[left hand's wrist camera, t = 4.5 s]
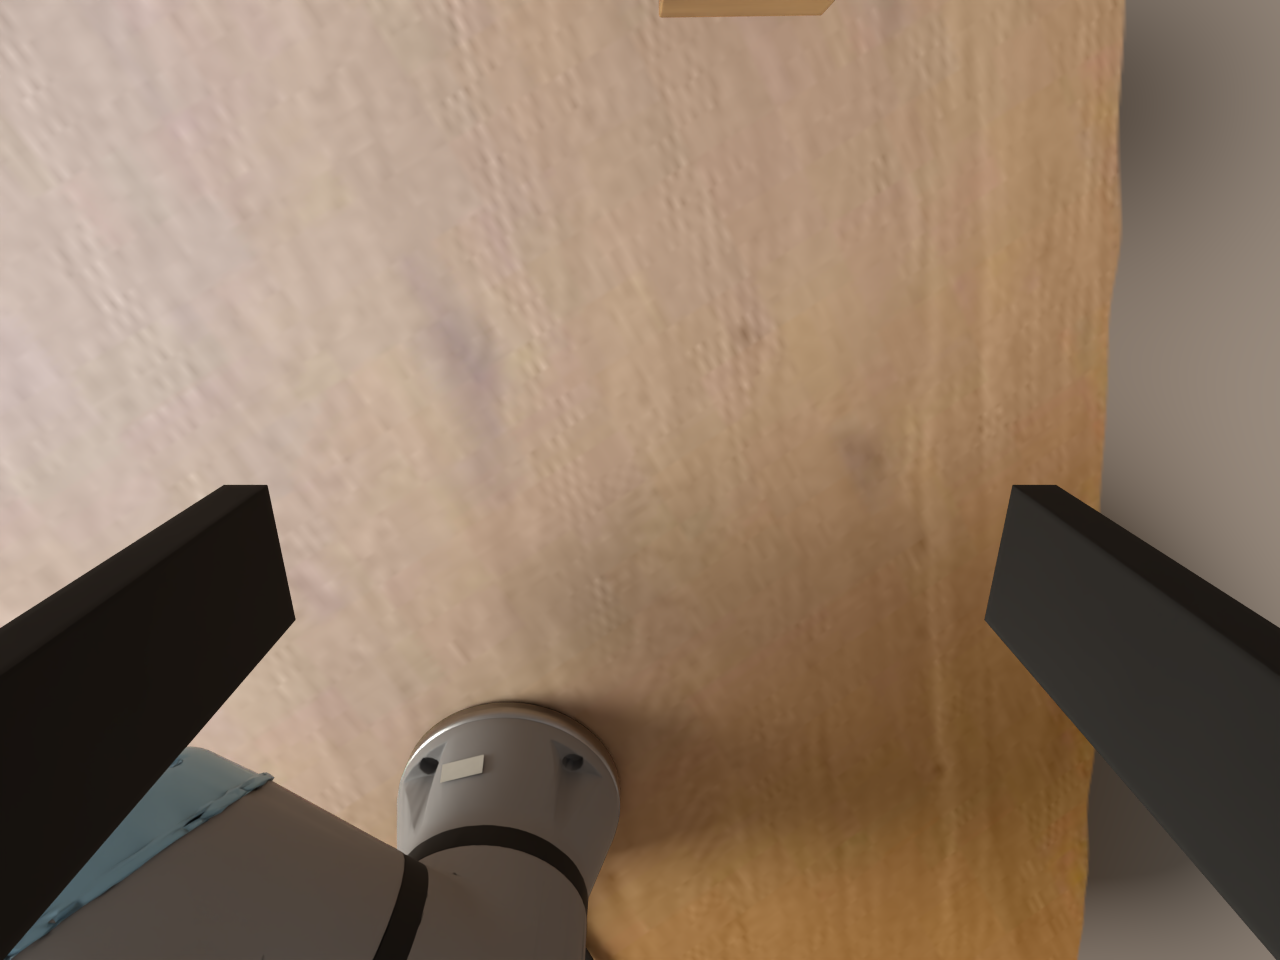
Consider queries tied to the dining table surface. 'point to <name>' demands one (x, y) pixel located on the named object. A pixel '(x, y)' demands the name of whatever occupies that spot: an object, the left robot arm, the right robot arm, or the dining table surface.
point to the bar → (741, 8)
